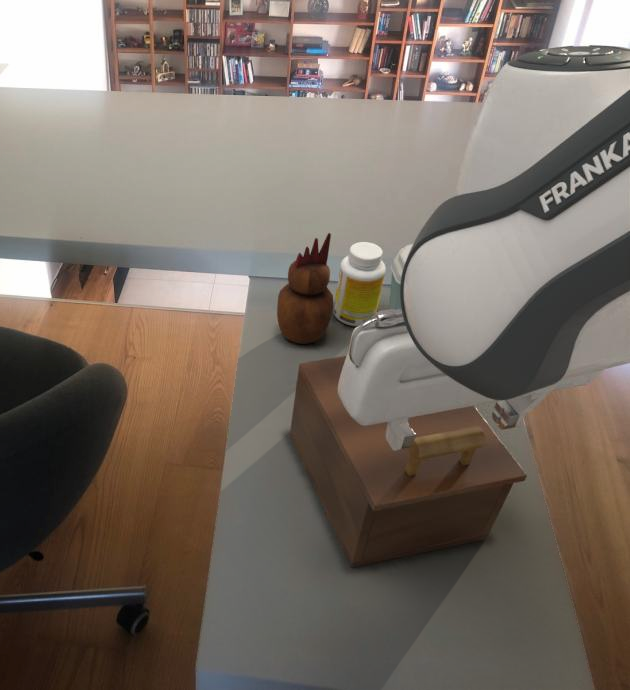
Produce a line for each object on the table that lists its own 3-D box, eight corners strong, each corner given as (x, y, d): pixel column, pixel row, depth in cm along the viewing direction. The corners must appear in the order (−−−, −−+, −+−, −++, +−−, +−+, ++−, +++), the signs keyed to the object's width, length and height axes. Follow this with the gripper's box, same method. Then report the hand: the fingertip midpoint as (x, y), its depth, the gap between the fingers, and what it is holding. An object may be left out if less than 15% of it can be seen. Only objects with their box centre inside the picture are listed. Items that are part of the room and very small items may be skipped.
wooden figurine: (328, 324, 91) (344, 224, 81) (327, 352, 87) (344, 251, 77) (276, 318, 92) (286, 220, 82) (272, 346, 88) (282, 246, 78)
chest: (486, 539, 66) (518, 473, 60) (351, 568, 64) (368, 503, 57) (405, 414, 78) (424, 348, 72) (289, 435, 76) (298, 369, 70)
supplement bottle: (383, 322, 91) (398, 257, 84) (346, 332, 90) (358, 266, 83) (360, 298, 95) (373, 234, 88) (324, 307, 94) (334, 243, 87)
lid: (524, 481, 59) (543, 443, 56) (373, 511, 57) (384, 474, 54) (424, 348, 72) (434, 311, 69) (298, 369, 70) (303, 332, 67)
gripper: (376, 346, 43) (347, 487, 52) (662, 298, 46) (588, 439, 55) (337, 289, 48) (316, 427, 57) (598, 249, 51) (539, 386, 60)
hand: (451, 433), depth 56 cm, fingers open, 8 cm apart
